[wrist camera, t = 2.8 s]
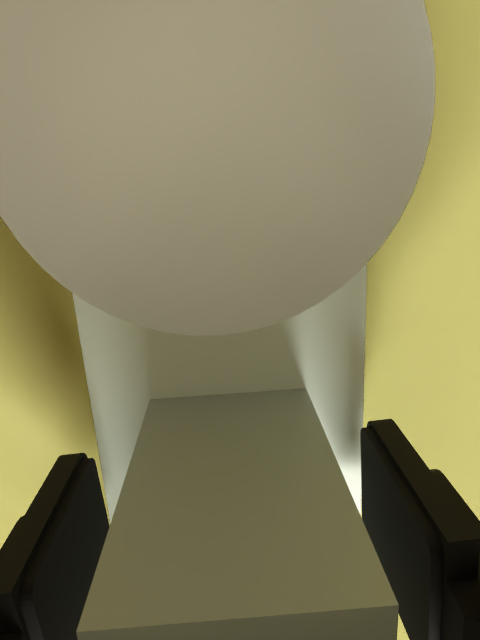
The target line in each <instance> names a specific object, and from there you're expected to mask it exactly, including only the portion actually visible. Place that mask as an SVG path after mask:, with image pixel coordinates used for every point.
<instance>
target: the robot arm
mask: <svg viewBox="0 0 480 640" xmlns="http://www.w3.org/2000/svg"><path fill="white" fill-rule="evenodd" d="M360 447H361V489H362V520H363V523H364V525H365V527H366V530H367V532H368V534H369V537H370V539H371V541H372V544H373V546H374V548H375V551H376V553H377V555H378V558H379V560H380V562H381V565H382V567H383V569H384V572H385V574H386V576H387V579H388V581H389V583H390V586H391V588H392V591H393V593H394V595H395V598H396V600H397V602H398V605H399V608H398V613H399V615H400V618H401V620H402V622H403V625H404V627H405V629H406V632H407V634H408V637H409V639H410V640H480V521H479V519H478V518H477V517H476V516H475V514H474V513H473V512H472V510H471V509H470V508H469V507H468V505H467V504H466V503H465V501H464V500H463V499H462V497H461V496H460V495H459V494H458V492H457V491H456V490H455V488H454V487H453V486H452V485H451V483H450V482H449V481H448V479H447V478H446V477H445V475H444V474H443V473H442V472H441V471H440V470H437V469H432V470H429V468H428V467H427V466H426V464H425V463H424V461H423V460H422V459H421V457H420V456H419V455H418V453H417V452H416V451H415V449H414V448H413V446H412V445H411V444H410V442H409V441H408V440H407V438H406V437H405V436H404V434H403V433H402V432H401V430H400V429H399V427H398V426H397V425H396V423H395V422H394V421H393V420H392V419H385V420H376V421H369V422H368V424H367V428H361V430H360ZM108 530H109V522H108V518H107V513H106V509H105V504H104V500H103V495H102V491H101V486H100V481H99V477H98V472H97V468H96V463H95V460H94V459H93V458H87V456H86V454H85V453H78V454H69V455H61V456H59V458H58V459H57V461H56V462H55V464H54V466H53V468H52V469H51V471H50V473H49V474H48V476H47V478H46V480H45V481H44V483H43V485H42V486H41V488H40V490H39V492H38V493H37V495H36V497H35V498H34V500H33V502H32V504H31V505H30V507H29V509H28V510H27V512H26V514H25V515H24V516H22V517H21V518H20V519H19V520H18V521H17V523H16V524H15V526H14V528H13V529H12V531H11V533H10V534H9V536H8V538H7V539H6V541H5V543H4V544H3V546H2V548H1V550H0V640H78V639H77V634H76V631H77V628H78V625H79V622H80V618H81V615H82V612H83V609H84V606H85V603H86V599H87V596H88V593H89V590H90V587H91V584H92V580H93V577H94V574H95V571H96V568H97V565H98V562H99V558H100V555H101V552H102V549H103V546H104V543H105V539H106V536H107V533H108Z"/></svg>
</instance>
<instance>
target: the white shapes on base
mask: <svg viewBox="0 0 480 640" xmlns="http://www.w3.org/2000/svg"><path fill="white" fill-rule="evenodd" d="M434 104H435V61H434V52H433V44H432V35H431V29H430V25H429V21H428V17H427V13H426V9H425V4H424V0H0V217H1V218H2V220H3V221H4V222H5V224H6V225H7V227H8V228H9V229H10V231H11V232H12V234H13V235H14V236H15V238H16V239H17V241H18V242H19V243H20V245H21V246H22V247H23V248H24V249H25V250H26V251H27V252H28V253H29V255H30V256H31V257H32V258H33V259H34V260H35V261H36V262H37V263H38V264H39V266H40V267H42V268H43V269H44V270H45V271H46V272H47V273H48V274H50V275H51V276H52V277H53V278H54V279H55V280H56V281H58V282H59V283H60V284H61V285H62V286H63V287H65V288H66V289H68V290H69V291H71V292H72V295H73V301H74V307H75V313H76V319H77V325H78V331H79V337H80V343H81V349H82V355H83V361H84V367H85V373H86V379H87V385H88V391H89V397H90V403H91V409H92V415H93V421H94V427H95V433H96V439H97V445H98V451H99V457H100V463H101V470H102V476H103V482H104V488H105V494H106V500H107V506H108V512H109V518H110V527H109V530H108V533H107V536H106V539H105V543H104V546H103V549H102V552H101V555H100V558H99V562H98V565H97V568H96V571H95V574H94V577H93V580H92V584H91V587H90V590H89V593H88V596H87V599H86V603H85V606H84V609H83V612H82V615H81V618H80V622H79V625H78V628H77V631H76V634H77V639H78V640H397V626H398V608H399V605H398V602H397V600H396V598H395V595H394V593H393V591H392V588H391V586H390V583H389V581H388V579H387V576H386V574H385V572H384V569H383V567H382V565H381V562H380V560H379V558H378V555H377V553H376V551H375V548H374V546H373V544H372V541H371V539H370V537H369V534H368V532H367V530H366V527H365V525H364V523H363V520H362V518H361V447H360V430H361V428H363V403H364V363H365V323H366V282H367V263H368V261H369V260H370V259H371V258H372V257H373V256H374V254H375V253H376V252H377V251H378V250H379V249H380V247H381V246H382V245H383V244H384V242H385V241H386V239H387V238H388V236H389V235H390V233H391V232H392V230H393V229H394V227H395V226H396V224H397V223H398V221H399V219H400V217H401V215H402V213H403V211H404V209H405V207H406V206H407V204H408V202H409V200H410V198H411V196H412V194H413V191H414V188H415V186H416V183H417V180H418V178H419V175H420V172H421V169H422V167H423V164H424V160H425V156H426V152H427V148H428V143H429V139H430V135H431V129H432V121H433V113H434Z"/></svg>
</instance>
